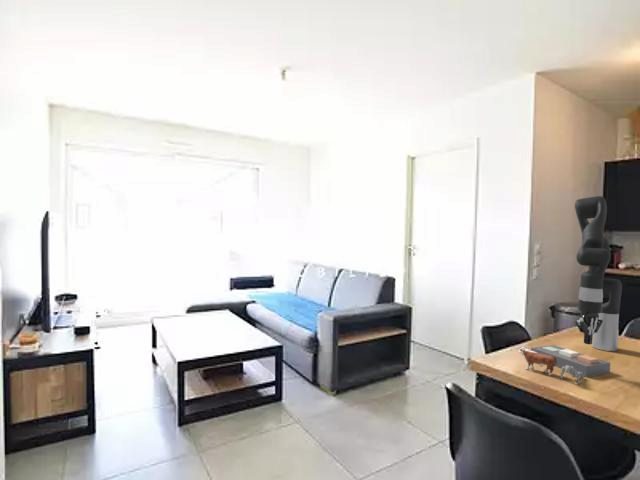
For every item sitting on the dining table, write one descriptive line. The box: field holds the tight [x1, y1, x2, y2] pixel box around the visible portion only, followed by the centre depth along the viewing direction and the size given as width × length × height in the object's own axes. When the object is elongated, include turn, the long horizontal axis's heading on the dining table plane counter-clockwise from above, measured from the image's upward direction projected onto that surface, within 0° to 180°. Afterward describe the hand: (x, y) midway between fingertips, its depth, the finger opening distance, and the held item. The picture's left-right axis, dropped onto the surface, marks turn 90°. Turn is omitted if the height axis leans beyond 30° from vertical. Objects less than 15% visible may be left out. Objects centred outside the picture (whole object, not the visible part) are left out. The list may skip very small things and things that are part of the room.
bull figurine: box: [518, 346, 557, 376], centre depth 144 cm, size 4×13×8 cm, turn 44°
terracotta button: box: [577, 354, 599, 364], centre depth 146 cm, size 5×5×3 cm
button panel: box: [530, 344, 611, 378], centre depth 153 cm, size 14×23×4 cm, turn 22°
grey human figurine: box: [559, 365, 585, 385], centre depth 136 cm, size 6×5×12 cm
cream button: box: [559, 348, 580, 358], centre depth 153 cm, size 5×5×3 cm
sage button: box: [543, 347, 559, 352], centre depth 160 cm, size 5×5×3 cm
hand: (587, 343), depth 146 cm, fingers closed
